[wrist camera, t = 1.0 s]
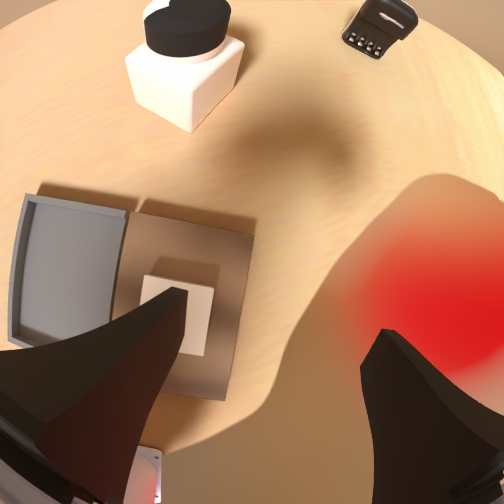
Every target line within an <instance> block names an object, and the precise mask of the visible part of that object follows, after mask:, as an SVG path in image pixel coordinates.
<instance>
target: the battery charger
mask: <svg viewBox="0 0 504 504" xmlns="http://www.w3.org/2000/svg"><path fill="white" fill-rule="evenodd" d="M417 25H418V17H417V13H416V10H415V9H414V8H413V7H412V6H411V5H409V4H408V3H406V2H405V1H404V0H365V1H364V2H363V3H362V5H361V6H360V7H359V9H358V10H357V12H356V14H355V15H354V17H353V18H352V20H351V21H350V23H349V24H348V26H347V27H346V28H345V29H344V30H343V32H342V36H343V39H344V41H345V42H346V43H347V44H349V45H350V46H352V47H354V48H356V49H358V50H359V51H361V52H363V53H365V54H367V55H369V56H371V57H373V58H375V59H380V58H381V57H382V56H383V55H384V53H385V52H386V51H387V49H388V48H389V47H390V46H391V45H392V44H394V43H395V42H396V41H397V40H398V39H400V40H404V39H405V38H406V37H407V36H408V35H409V34H410V33H411V32H412V31H413V30H414V29H415V27H416V26H417Z"/></svg>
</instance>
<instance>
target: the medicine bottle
mask: <svg viewBox="0 0 504 504" xmlns="http://www.w3.org/2000/svg"><path fill="white" fill-rule="evenodd" d="M230 14H231V7H230V5H229V4H228V2H227V1H226V0H154V1H152V2H151V3H150V4H149V5H148V6H147V8H146V9H145V11H144V13H143V24H144V32H145V40H146V41H145V42H144V43H142V44H141V45H140V46H139V47H137V48H136V49H135V50H134V51H132V52H131V53H130V54H129V55H128V56H126V58H125V63H126V67H127V70H128V74H129V78H130V81H131V85H132V89H133V92H134V96H135V99H136V102H137V103H138V104H140V105H142V106H143V107H145V108H147V109H149V110H151V111H152V112H154V113H156V114H158V115H160V116H161V117H163V118H165V119H166V120H168V121H170V122H172V123H173V124H175V125H177V126H178V127H180V128H182V129H183V130H185V131H187V132H189V133H191V132H193V131H194V130H195V128H196V127H197V126H198V125H199V124H200V123H201V122H202V121H203V119H204V118H205V117H206V116H207V115H208V114H209V113H210V112H211V111H212V110H213V109H214V108H215V106H216V105H217V104H218V103H219V102H220V101H221V100H222V99H223V98H224V97H225V96H226V95H227V94H228V93H229V92H230V91H231V90H232V89H233V86H234V83H235V79H236V75H237V72H238V68H239V64H240V61H241V57H242V54H243V50H244V47H245V44H244V43H243V42H242V41H240V40H238V39H236V38H233V37H231V36H229V35H227V34H226V32H227V28H228V23H229V19H230Z"/></svg>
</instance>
